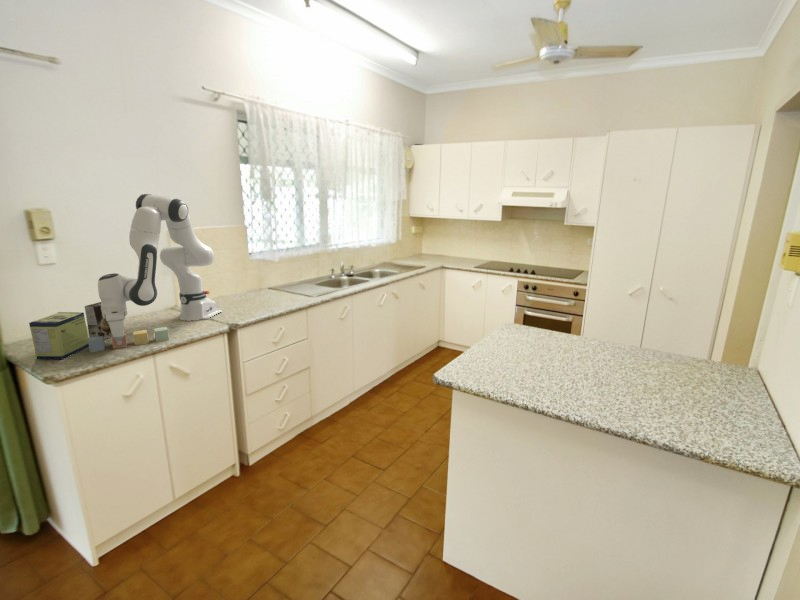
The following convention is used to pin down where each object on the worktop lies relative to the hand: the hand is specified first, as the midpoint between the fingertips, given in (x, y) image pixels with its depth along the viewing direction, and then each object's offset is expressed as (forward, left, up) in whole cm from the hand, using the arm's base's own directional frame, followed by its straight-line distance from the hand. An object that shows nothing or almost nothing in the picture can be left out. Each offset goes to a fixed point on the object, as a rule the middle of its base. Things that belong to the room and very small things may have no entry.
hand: (119, 342), depth 176 cm
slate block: (+7, -5, -2) cm, 8 cm away
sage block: (-13, +9, -2) cm, 16 cm away
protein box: (+14, -14, -2) cm, 20 cm away
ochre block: (-6, +5, -2) cm, 8 cm away
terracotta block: (0, 0, -2) cm, 2 cm away
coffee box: (-5, -17, -2) cm, 18 cm away
